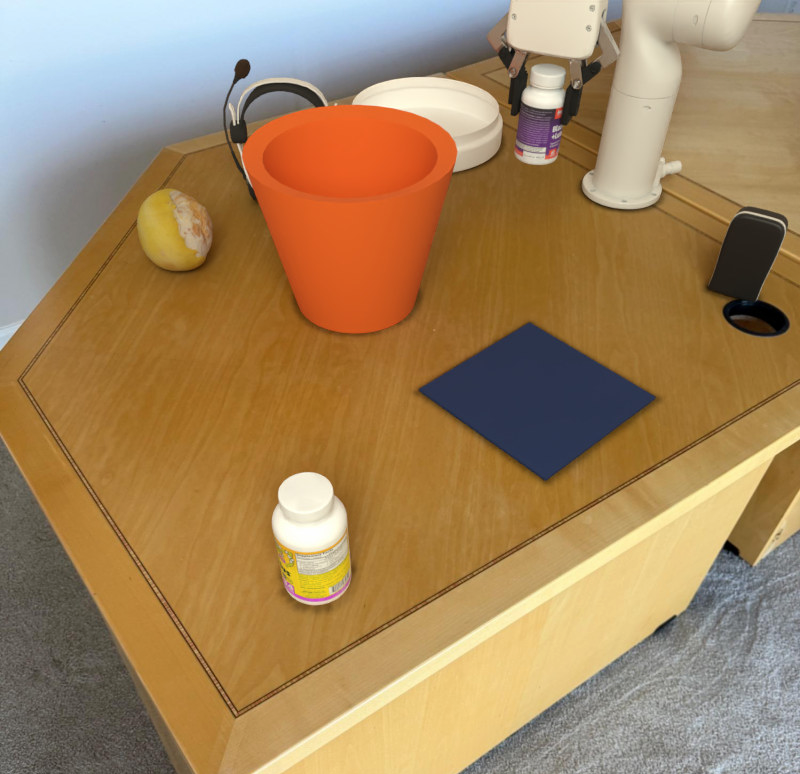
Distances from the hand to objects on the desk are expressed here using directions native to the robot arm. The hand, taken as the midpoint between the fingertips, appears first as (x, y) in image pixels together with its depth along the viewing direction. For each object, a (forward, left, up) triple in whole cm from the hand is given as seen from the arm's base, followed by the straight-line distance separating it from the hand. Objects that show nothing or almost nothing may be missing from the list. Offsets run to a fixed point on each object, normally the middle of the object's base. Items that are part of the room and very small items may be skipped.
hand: (541, 114), depth 90 cm
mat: (+10, +23, -22) cm, 33 cm away
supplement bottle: (+43, +39, -22) cm, 62 cm away
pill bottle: (0, 0, -5) cm, 5 cm away
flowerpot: (+23, -4, -22) cm, 32 cm away
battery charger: (-26, +14, -22) cm, 37 cm away
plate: (-5, -45, -22) cm, 50 cm away
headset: (+23, -33, -22) cm, 46 cm away
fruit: (+43, -21, -22) cm, 53 cm away
